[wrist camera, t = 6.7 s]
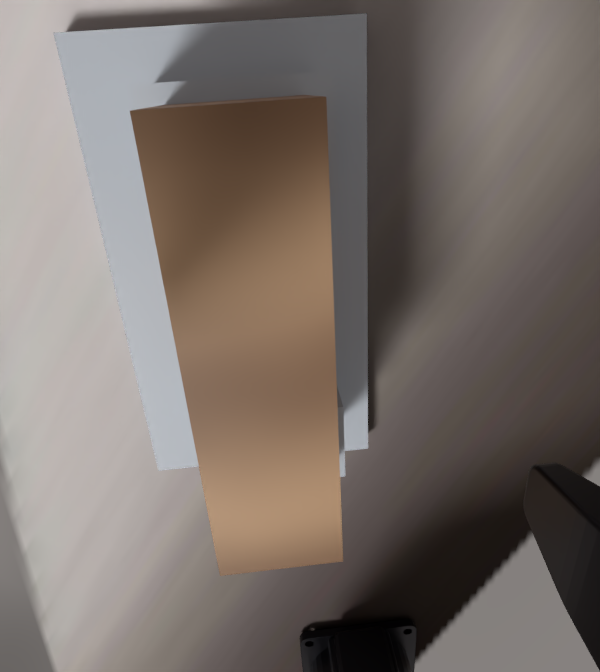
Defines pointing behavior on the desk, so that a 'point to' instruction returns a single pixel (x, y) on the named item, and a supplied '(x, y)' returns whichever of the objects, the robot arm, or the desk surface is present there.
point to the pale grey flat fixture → (130, 197)
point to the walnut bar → (252, 316)
